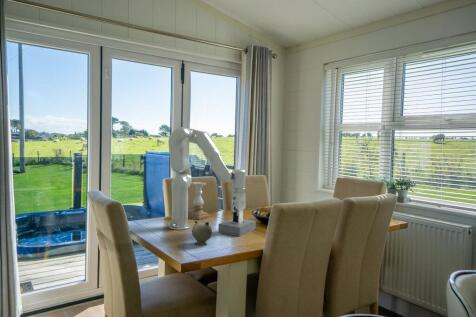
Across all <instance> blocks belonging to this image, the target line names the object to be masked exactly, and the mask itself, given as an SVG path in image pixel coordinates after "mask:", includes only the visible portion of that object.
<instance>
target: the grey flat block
mask: <svg viewBox="0 0 476 317" xmlns="http://www.w3.org/2000/svg"><path fill="white" fill-rule="evenodd" d="M232 220H233V218H232V219H228V220H226V221H223V222H220V223H218V233H220V234H224V235H231V236H235V237H241V236H243V235H245V234H247V233H250V232H252V231H255V230H256V223H257V221H256V220H253V219H252V220H251V219H246V218H243V223H241V224H236V223H232Z"/></svg>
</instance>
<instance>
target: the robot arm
mask: <svg viewBox="0 0 476 317" xmlns="http://www.w3.org/2000/svg"><path fill="white" fill-rule="evenodd" d="M184 142H187V143H191V144H195V145H197V146H198V148H199V149H200V151H201V152H202V154H203V156H204V157H205V159H206V160H207V163H208V164H209V166H210V168H211V169H212V171H213V172H214V174H215V176H216V177H217V178H218V180H219V181H220V182H222V183H228V182H230V181H232V188H231V189H232V190H231V191H232V192H231V193H232V195H231V206H230V207H231V210H230V211H231V214H232V219H233V222H238V211H240V210H243V211H244V210H245V209H246V204H247V203H246V202H247V201H246V200H247V199H246V175H247V174H246V170H245V169H241V168H239V169H238V168H237V169H236V168H235V169H232V168H227V166H226V164H225V163H224V160H223V159H222V157H221V154H220V151H219V149H218V148H217V146H216V144H215V143H214V142H213V139H212V137H211V135H210V134H209V132H208V131H207V132H206V131H203V130H198V129H193V128H190V127H185V126H180V127H177V128H175V129H174V130H173V131H172V132H171V133H170V134H169V137H168V149H169V150H168V152H169V159H170V168H171V170H172V171H173V172H174V173H175V176H174V177H173V179H172V180H171V220H170V222H169V223H166V227H168V228H169V229H171V230H176V231H177V230H178V231H181V230H188V229H190V228H191V225H190V224H189V223H188V219H189V218H188V214H189V190H188V189H189V188H190V187H191V185H192V184H191V183H192V182H193V180H192V170H191V165H190V164H191V163H190V161H189V159H188V158H187V157H186V156H185V151H184V150H185V149H184ZM235 209H236V210H235Z"/></svg>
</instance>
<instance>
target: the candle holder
mask: <svg viewBox="0 0 476 317" xmlns="http://www.w3.org/2000/svg"><path fill="white" fill-rule="evenodd" d="M191 185H192V186H194V187H195V191H194V193H195V197H194V198H193V200H192V204H193V205H194V206H193V210H192V211H191V212H188V219H191V220H195V221H201V220H205V219H208V218H210V214H208V212H206V211H204V210H203V209H204V208H203V205H204V199H203V197H202V194H203V190H202V188H203V186H206V185H207V182H203V181H192V183H191Z"/></svg>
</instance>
